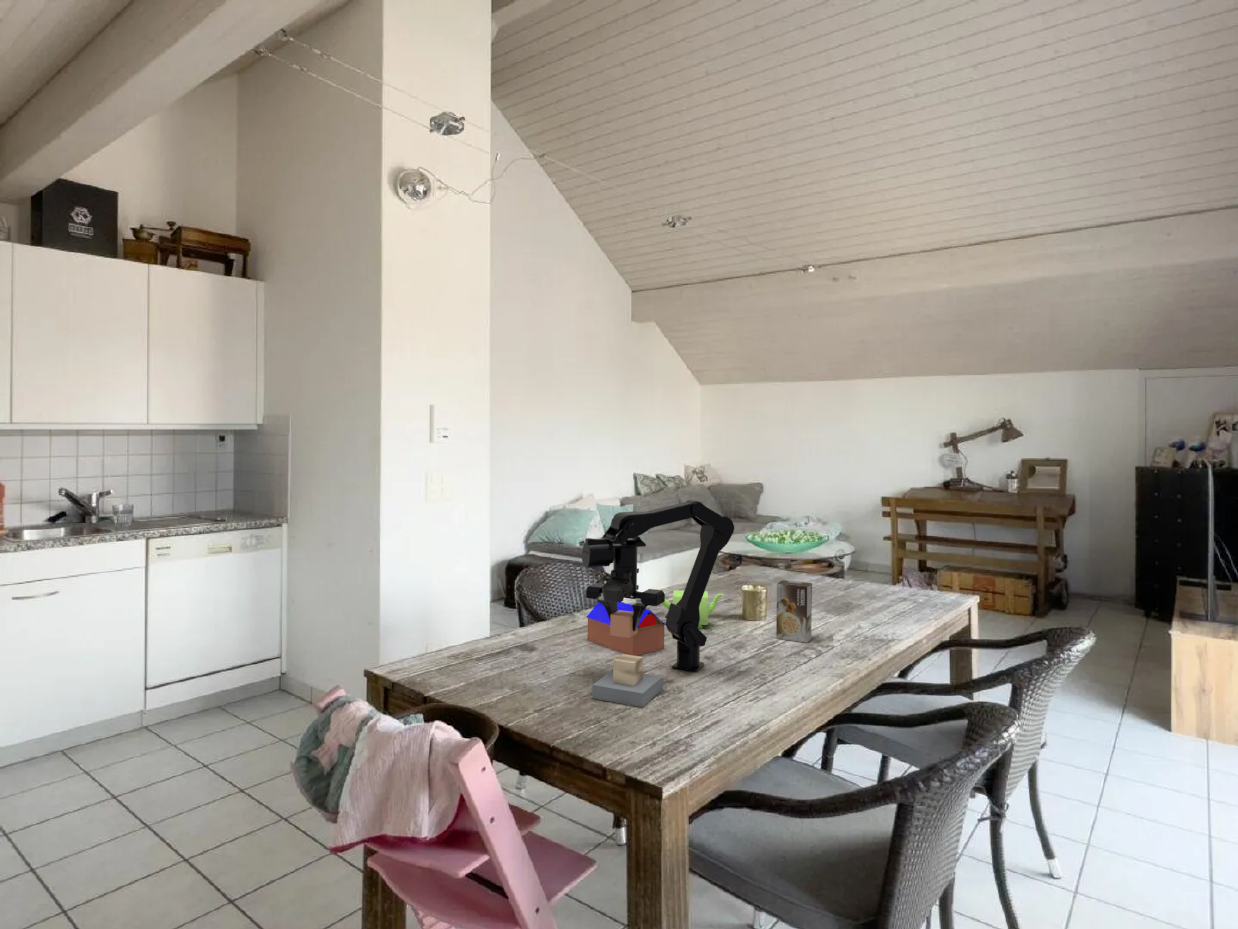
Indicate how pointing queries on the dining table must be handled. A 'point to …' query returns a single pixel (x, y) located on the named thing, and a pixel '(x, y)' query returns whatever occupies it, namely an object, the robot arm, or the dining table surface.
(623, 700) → the slate board
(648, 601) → the robot arm
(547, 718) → the dining table surface
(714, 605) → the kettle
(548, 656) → the dining table surface
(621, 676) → the birch cube
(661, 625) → the house
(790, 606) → the coffee box
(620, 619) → the terracotta cube
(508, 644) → the dining table surface
